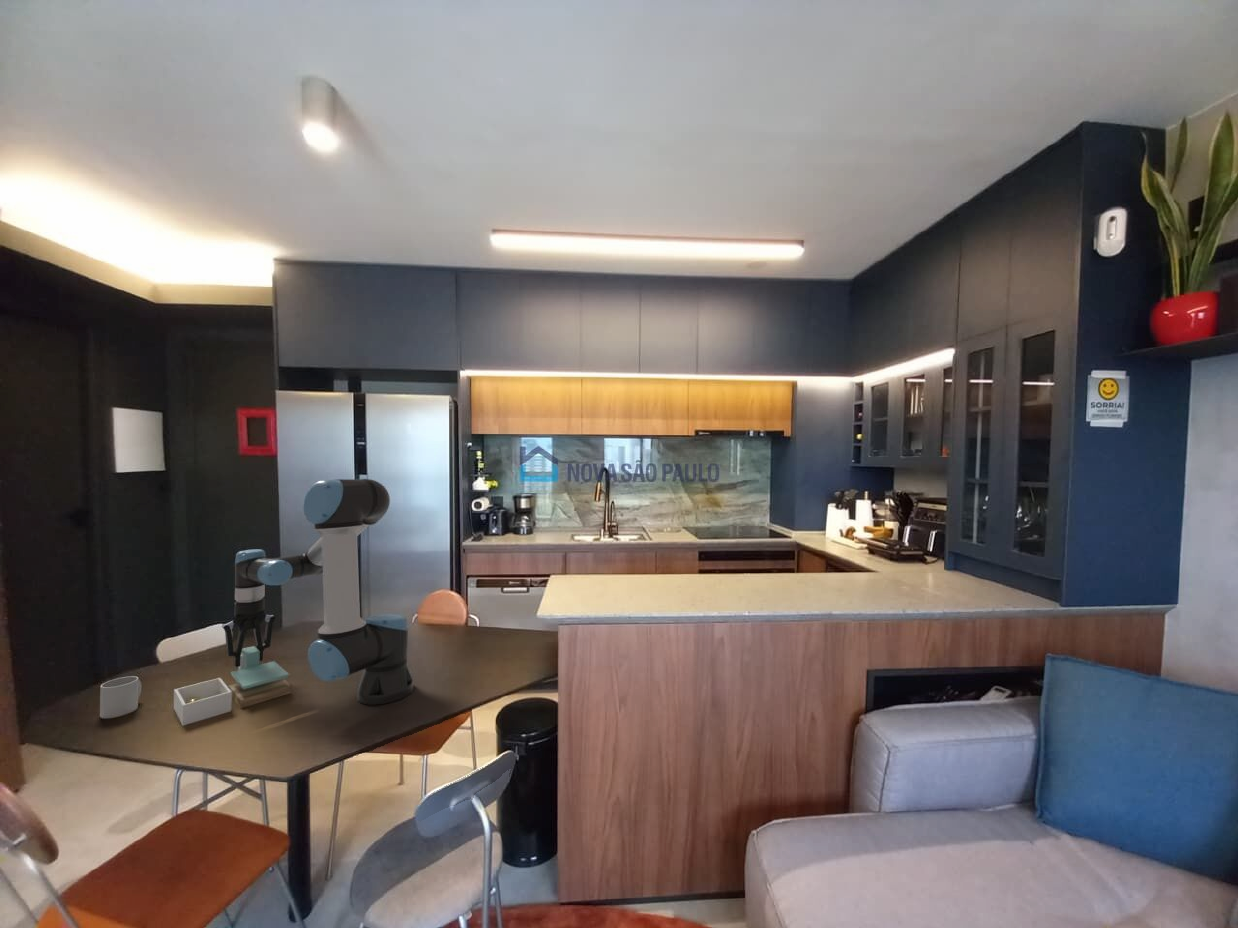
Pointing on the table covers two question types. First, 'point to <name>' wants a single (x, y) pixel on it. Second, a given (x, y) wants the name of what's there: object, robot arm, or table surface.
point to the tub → (202, 701)
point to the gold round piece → (193, 699)
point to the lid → (257, 670)
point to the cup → (119, 696)
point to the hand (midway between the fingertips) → (248, 673)
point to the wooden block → (259, 692)
